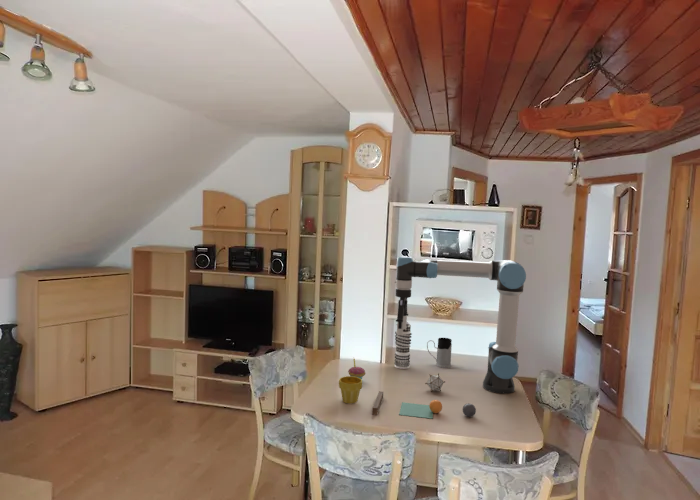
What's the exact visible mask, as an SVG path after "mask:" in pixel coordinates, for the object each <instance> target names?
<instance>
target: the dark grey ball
mask: <svg viewBox="0 0 700 500" xmlns="http://www.w3.org/2000/svg"><path fill="white" fill-rule="evenodd" d="M476 409H477V408H476V407H475V405H474V404H473V403H469V402H468V403H465V404H464V405H463V406H462V413H463V415H464V416H466V417H467V418H468V417H469V418H472V417H474V416H475V415H476V412H477V410H476Z"/></svg>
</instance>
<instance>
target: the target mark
mask: <svg viewBox="0 0 700 500" xmlns="http://www.w3.org/2000/svg"><path fill="white" fill-rule="evenodd" d="M400 405H401V406H400V409H399V412H398V415H399V416H404V417H405V416H406V417H412V418H422V419H429V420H431V419H432V420H433V418H434V413H433V412H432V411H431V410H430V408H429V404H422V403H421V404H419V403H414V402H413V403H412V402H404V401H402V402H401V404H400Z"/></svg>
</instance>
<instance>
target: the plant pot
mask: <svg viewBox="0 0 700 500" xmlns="http://www.w3.org/2000/svg"><path fill="white" fill-rule="evenodd" d="M338 388H339V389H340V392H341V393H340V394H341V398H342V399H341V400H342V402H343V403H345V404H351V405H352V404H356V403H357V402H358V401H359V395H360V391H361V390H362V388H363V378H362V379H360V378H358V377H354V376H350V375H348V376H346V375H345V376H342V377H340V378H339V380H338Z"/></svg>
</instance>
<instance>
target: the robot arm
mask: <svg viewBox="0 0 700 500" xmlns="http://www.w3.org/2000/svg"><path fill="white" fill-rule="evenodd" d="M395 273H396V277H395V279H396V280H395V281H394V284H395V297H396V298H399V300H398V305H397V318H396V320H395V322H396V324H397V325H396V330H397V335H401V336H403V329H406V323H407V322H408V317H409V313H408V299H410V298H411V297H412V284H413V278H423V279H424V278H426V279H437V277H438V276H446V277H447V276H449V277H450V276H451V277H466V278H468V277H469V278H484V279H489V280H490V281H496V282H497V284H496V290H497V291H498V293H499V297H498V298H499V299H498V300H499V302H498V313H497V325H496V326H497V327H496V339H495V341H491V342H489V344H488V347H487V349H488V354H487V355H488V356H487V357H488V358H487V370H486V374H485V377H484V378H483V381H482V387H483V389H485V390H486V391H489V392H492V393H497V394H511V393H514V392H515V390H516V389H515V387H516V386H515V381H514V379H513V378H514V377H515V376H516V375H517V374H518V372H519V363H518V359H519V357H518V355H519V348H517V347H516V337H517V326H518V316H519V315H518V313H519V303H520V295H521V294H522V293H524V285H525V282H526V279H527V274H526V270H525V268H524V267H523V266H522V264H520V263H519V262H517V261H515V260H511V259H505V260H504V259H503V260H490V261H489V262H487V261H486V262H485V261H482V262H481V261H465V260H464V261H463V260H461V261H460V260H440V259H438V260H437V259H429V258H426V259H425V258H424V259H422V260H421V261H415V260H414V259H413V257H411V256H398V257H397V258H396V272H395Z"/></svg>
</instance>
